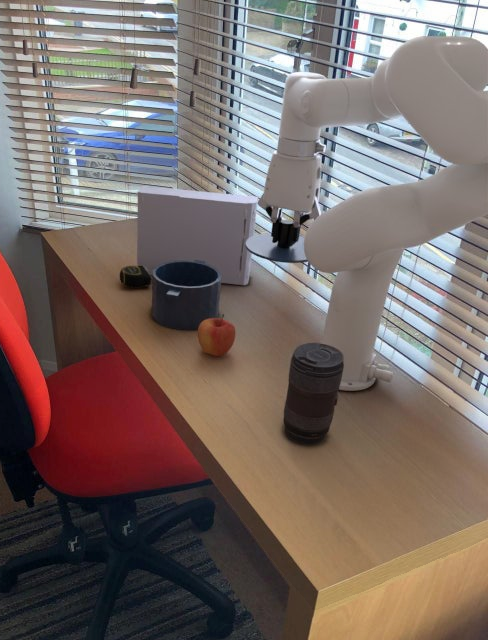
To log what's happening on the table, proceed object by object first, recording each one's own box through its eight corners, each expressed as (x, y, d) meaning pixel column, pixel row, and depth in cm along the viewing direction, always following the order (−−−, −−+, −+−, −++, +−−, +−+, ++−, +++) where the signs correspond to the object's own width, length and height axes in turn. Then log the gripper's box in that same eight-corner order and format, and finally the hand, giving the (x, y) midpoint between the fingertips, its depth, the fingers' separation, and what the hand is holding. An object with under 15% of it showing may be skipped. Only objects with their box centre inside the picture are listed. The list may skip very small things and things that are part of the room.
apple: (188, 353, 128) (190, 316, 123) (211, 340, 132) (214, 304, 128) (218, 366, 124) (221, 329, 119) (240, 353, 129) (244, 317, 124)
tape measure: (152, 289, 152) (152, 274, 150) (123, 292, 150) (123, 276, 148) (144, 278, 157) (144, 263, 155) (116, 280, 155) (116, 265, 153)
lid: (325, 244, 136) (330, 216, 133) (315, 271, 124) (320, 240, 120) (254, 233, 140) (257, 205, 136) (237, 258, 127) (240, 227, 124)
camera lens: (295, 412, 112) (309, 336, 104) (337, 432, 108) (355, 353, 100) (270, 433, 107) (282, 353, 99) (313, 454, 103) (329, 373, 94)
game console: (247, 286, 156) (256, 204, 145) (136, 274, 159) (137, 192, 148) (249, 277, 161) (258, 196, 150) (141, 265, 163) (142, 185, 152)
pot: (227, 302, 148) (231, 262, 143) (203, 340, 132) (206, 297, 127) (168, 291, 151) (169, 252, 146) (137, 327, 135) (137, 285, 130)
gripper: (345, 150, 120) (328, 245, 131) (264, 137, 126) (254, 229, 136) (333, 158, 115) (316, 257, 125) (249, 144, 121) (239, 239, 131)
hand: (284, 241), depth 131 cm, fingers closed on lid, 2 cm apart
